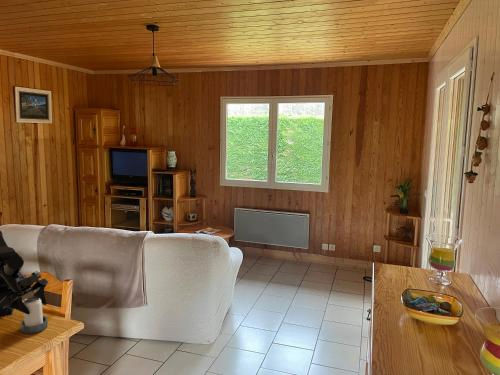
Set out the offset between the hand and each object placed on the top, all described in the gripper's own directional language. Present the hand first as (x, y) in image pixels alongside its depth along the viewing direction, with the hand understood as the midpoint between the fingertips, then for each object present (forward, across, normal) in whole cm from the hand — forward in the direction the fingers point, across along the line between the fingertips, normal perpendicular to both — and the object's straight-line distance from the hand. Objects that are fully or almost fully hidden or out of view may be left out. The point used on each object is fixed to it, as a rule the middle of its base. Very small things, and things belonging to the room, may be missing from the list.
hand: (37, 309), depth 149 cm
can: (+4, 0, +7) cm, 8 cm away
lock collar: (+5, 0, +8) cm, 9 cm away
